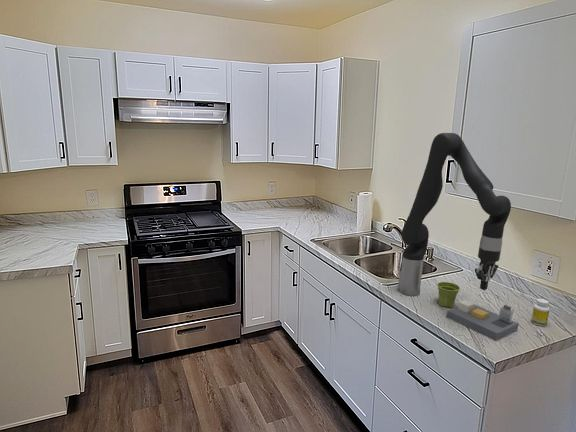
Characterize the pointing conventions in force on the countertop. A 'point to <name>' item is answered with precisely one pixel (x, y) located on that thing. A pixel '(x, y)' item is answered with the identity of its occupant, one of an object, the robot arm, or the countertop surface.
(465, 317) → the panel
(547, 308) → the supplement bottle
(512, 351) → the countertop surface
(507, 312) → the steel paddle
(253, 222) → the countertop surface
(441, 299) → the plant pot
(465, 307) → the ivory button
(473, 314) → the amber button
